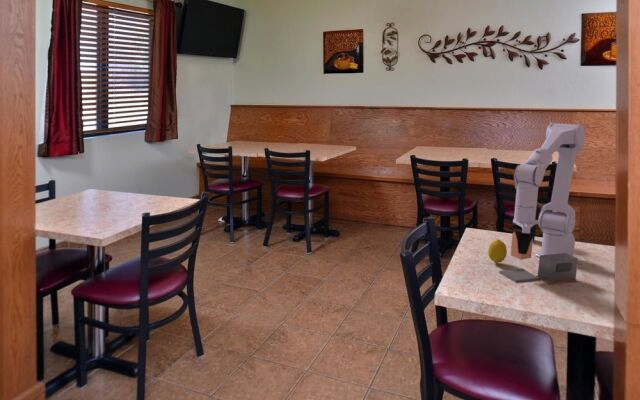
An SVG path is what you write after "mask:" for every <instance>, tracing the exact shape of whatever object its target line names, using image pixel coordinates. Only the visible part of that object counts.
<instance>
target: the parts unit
mask: <svg viewBox="0 0 640 400" xmlns="http://www.w3.org/2000/svg"><path fill="white" fill-rule="evenodd" d="M538 258H539V259H538V260H539V261H538V269H537V275H536V276H537V277H539V280H540V281H542V282H544V283H546V284H547V285H556V284H558V285H559V284H565V283H566V284H567V283H574V282H577V281H578V279H577V271H578V270H577V269H578V261H579V258H578V257H577V256H576V257H575V256H574V255H573V256H572V255H569V254H567V253H560V254H549V255H540V257H538Z"/></svg>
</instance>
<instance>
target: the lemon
mask: <svg viewBox="0 0 640 400" xmlns="http://www.w3.org/2000/svg"><path fill="white" fill-rule="evenodd" d="M507 249H508V248H507V246H506V244H505V242H504V241H503V240H501V239H496V240H493V241H492V242H491V243H490V244H489V246H488V251H487V253H488V254H487V255H488V257H489V259H490V260H491V261H492V262H494V264H499V263H501V262H503V261H504V260H505V259H506V257H507V253H508V250H507Z"/></svg>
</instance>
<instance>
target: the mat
mask: <svg viewBox="0 0 640 400" xmlns="http://www.w3.org/2000/svg"><path fill="white" fill-rule="evenodd" d="M498 271H499V274H501V275H502V276H504V277H505V278H507V279H509V280H511V281H513V282H515V283H521V282H531V281H532V282H533V281H539V280H540V279H539V277H537V276H538V275H535V274H533V273H531V272H529V271H528V270H526V269H524V268H516V269H505V270H498Z"/></svg>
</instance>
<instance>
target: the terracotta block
mask: <svg viewBox="0 0 640 400" xmlns="http://www.w3.org/2000/svg"><path fill="white" fill-rule="evenodd" d="M533 242H534V241H533V239H532V240H531V242H530V245H529V248H528V251H527V254H519V253H518V244H517V237H516V234H515V232H512V237H511V247H510V256H511V257H514V258H516V259H518V260H526V259H532V253H533V252H532V251H533V244H534V243H533Z"/></svg>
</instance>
